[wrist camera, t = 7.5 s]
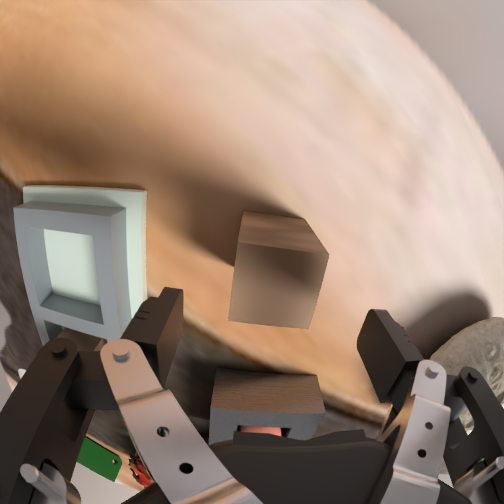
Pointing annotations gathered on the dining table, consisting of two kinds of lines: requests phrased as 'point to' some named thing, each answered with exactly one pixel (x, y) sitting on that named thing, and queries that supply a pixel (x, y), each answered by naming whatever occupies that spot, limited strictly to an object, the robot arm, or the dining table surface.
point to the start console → (264, 403)
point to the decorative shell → (476, 357)
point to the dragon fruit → (139, 471)
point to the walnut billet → (276, 271)
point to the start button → (261, 430)
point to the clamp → (99, 460)
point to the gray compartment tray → (82, 257)
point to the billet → (83, 340)
